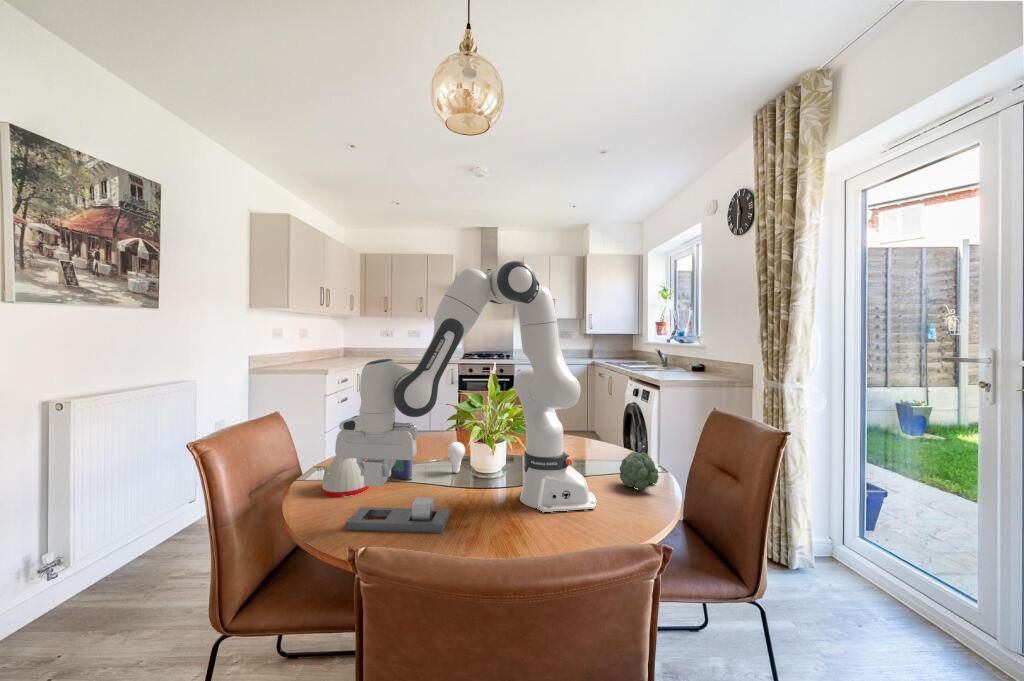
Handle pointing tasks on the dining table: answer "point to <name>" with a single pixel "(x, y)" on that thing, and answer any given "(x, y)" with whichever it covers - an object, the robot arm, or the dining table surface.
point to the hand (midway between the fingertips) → (375, 475)
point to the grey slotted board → (396, 520)
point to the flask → (402, 469)
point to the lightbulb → (456, 455)
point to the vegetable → (638, 470)
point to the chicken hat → (343, 478)
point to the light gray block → (423, 509)
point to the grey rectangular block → (375, 472)
